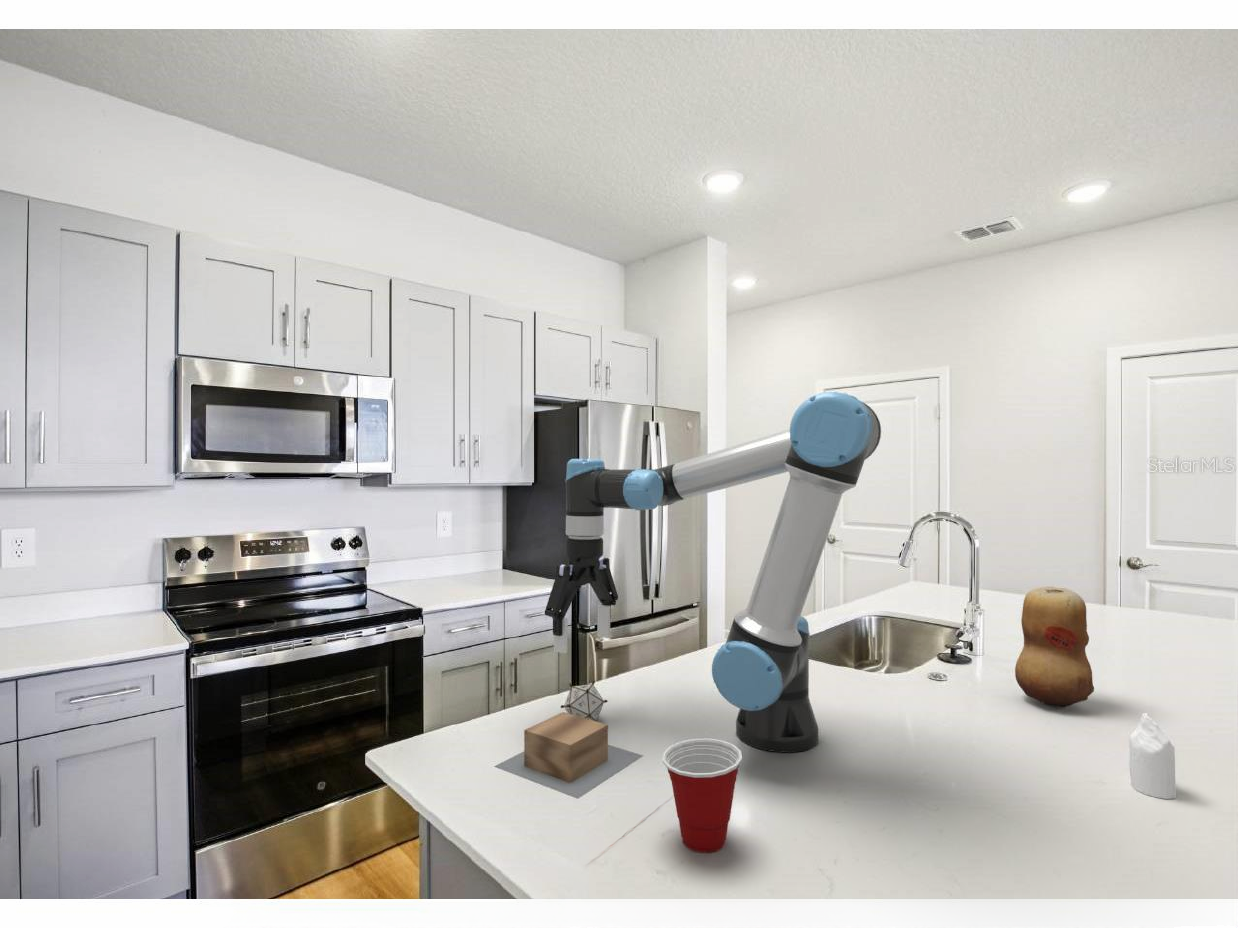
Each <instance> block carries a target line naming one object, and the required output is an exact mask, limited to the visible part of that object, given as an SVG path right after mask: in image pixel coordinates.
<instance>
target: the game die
mask: <svg viewBox="0 0 1238 928" xmlns="http://www.w3.org/2000/svg"><path fill="white" fill-rule="evenodd" d="M595 683H596V681H595V680H593V681H592V682H591V683H590V684H582V685H573V684H572V682H571V683H570V682H569V683H568V686H569V687H570V689H569V692H568V695H567V697H566V699H565V703H564V705H561V706H559V707H560V708H561V709H564V710H565V711H566V713H569V714H572V715H575V716H579V717H582V718H586V719H589V720H593V721H596V722H598V719H599V716H600V714H601V710H602V709H603V707H604V704H605V703H608V702H609V701H608V700H607V699H605V700H604V699H603V697H602V695H601V694H600V693H599V691H598V690H597V688H596V687H595Z"/></svg>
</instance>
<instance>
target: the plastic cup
mask: <svg viewBox="0 0 1238 928" xmlns="http://www.w3.org/2000/svg"><path fill="white" fill-rule="evenodd" d="M661 760H662V763H663V764H664V766H665V767H666V769H667V772H668V774H669V779H670V782H671V785H672V786H671V787H672V793H673V797H674V799H673V800H674V803H675V808H676V809H675V810H676V814H677V816H676V817H677V818H678V825H679V829H680V830H679V832H680V837H681V838H682V843H683V844H684V845H685V847H686V848H688V849H690V850H691V851H693V852H697V853H707V854H708V853H715V852H717V851H719V850H721V849H722V848H723V847H724V845H725V841H726V840H727V835H728V827H729V822H730V819H731V814H732V813H731V812H732V806H733V800H734V794H735V788H736V787H735V786H736V782H737V776H738V773H739V767H740V764H741V763H742V760H743V756H742V751H741V749H739V747H737V746H736V745H735V744H733V743H731V742H728V741H726V740H720V739H715V738H708V737H707V738H691V739H686V740H681V741H679V742H677V743H674V744H671V745H670V746H668V747H667V748H666V750H665V751H663V752H662V759H661Z"/></svg>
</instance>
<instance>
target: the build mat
mask: <svg viewBox="0 0 1238 928" xmlns="http://www.w3.org/2000/svg"><path fill="white" fill-rule="evenodd" d="M643 757H644V755H643V754H639V753H636V752H633V751H630V750H626V749H624V748H620V747H617V746H614V745H611V744H610V745H609V744H608V760H607V761H605V762H604V763H602V764H601V765H599V766H597V767H596V768H594V769H592V770H591V771H589V772H587V773H586V774H584V775H583V776H581V777H579V778H578V779H576V780H574V781H573V782H571V783H569V782H566V781H563V780H561V779H558V778H555V777H553V776H550V775H547V774H544V773H542V772H539V771H536V770H534V769H531V768H528V767H525V766H524V750H523V751H522V752H520V753H518V754H516V755H514V756H512V757H510V758H508V759H506V760H504V761H501V762H499V763H498V764H496V765H494V767H495V768H497V769H500V770H502V771H504V772H506V773H509V774H513V775H515V776H516V777H517V776H518V777H520V778H523V779H526V780H528V781H531V782H533V783H536V784H539V785H542V786H544V787H547V788H549V789H551V790H554V791H557V792H559V793H562V794H564V795H566V796H570V797H572V798H575V799H580V798H581V797H583V796H585V795H586V794H587V793H589V792H591V791H592V790H594V789H595V788H597V787H598V786H599V785H601V784H603V783H604V782H606V781H607V780H609V779H611V778H612V777H613V776H614V775H617V774H618V773H620V772H621V771H622V770H625V769H626V768H627V767H629V766H630V765H632V764H633V763H635V762H637V761H638V760H639V759H641V758H643Z"/></svg>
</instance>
